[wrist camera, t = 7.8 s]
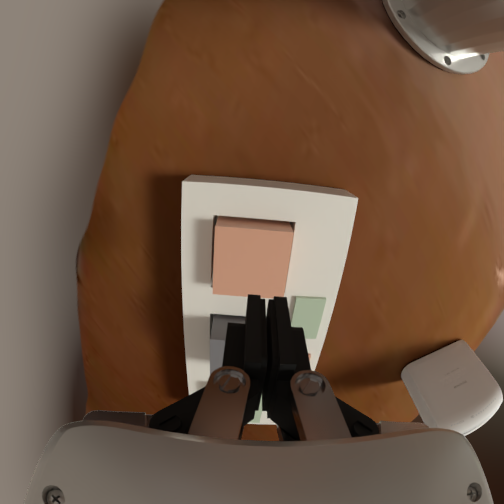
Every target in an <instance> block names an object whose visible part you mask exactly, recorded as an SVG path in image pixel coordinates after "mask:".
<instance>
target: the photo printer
mask: <svg viewBox="0 0 504 504" xmlns="http://www.w3.org/2000/svg"><path fill="white" fill-rule="evenodd" d="M401 378H402V380H403V382H404V384H405V386H406V388H407V390H408V392H409V394H410V396H411V398H412V400H413V402H414V404H415V406H416V408H417V410H418V412H419V414H420V416H421V418H422V420H423V422H424V424H425V425H427V426H428V427H429V428H444V429H450V430H454V431H457V432H459V433H461V434H462V435H464V436H465V435H468V434H470V433H471V432H473V431H475V430H476V429H478V428H479V427H481V426H482V425H483V424H484V423H486V422H487V421H488V420H489V419H490V418H491V417H492V416H493V415H494V413H495V412H496V411H497V409H498V408H499V407H500V405H501V403H502V401H503V396H502V391H501V389H500V387H499V385H498V383H497V382H496V381H495V379H494V378H493V377H492V375H491V374H490V372H489V371H488V370H487V368H486V367H485V366H484V365H483V363H482V362H481V361H480V359H479V358H478V357H477V355H476V354H475V353H474V352H473V350H472V349H471V348H470V347H469V345H468V344H467V343H466V342H465V341H464V340H459V341H457V342H455V343H452V344H450V345H448V346H446V347H444V348H442V349H440V350H437V351H435V352H433V353H431V354H429V355H427V356H425V357H422V358H420V359H418V360H416V361H414V362H412V363H410V364H408V365H407V366H406V367H405V368H404V369H403V371H402V373H401Z"/></svg>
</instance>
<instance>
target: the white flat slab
mask: <svg viewBox="0 0 504 504" xmlns="http://www.w3.org/2000/svg"><path fill="white" fill-rule="evenodd" d="M357 203H358V198H357V197H356V196H354V195H353V194H351V193H350V192H348V191H346V190H344V189H337V188H330V187H322V186H315V185H306V184H298V183H289V182H280V181H270V180H259V179H248V178H235V177H221V176H204V175H190V176H189V177H187V178H186V179H185V180H183V181H182V207H181V269H182V302H183V323H184V340H185V355H186V367H187V379H188V390H189V395H191V394H192V393H194V392H196V391H198V390H200V389H202V388H203V387H205V386H206V384H207V382H208V379H209V376H210V335H211V329H212V324H213V318H214V314H222V315H234V316H246V308H247V298H248V297H243V296H230V295H218V294H213V263H214V238H215V225H216V222H217V219H218V217H219V216H231V217H244V218H256V219H268V220H279V221H289V223H290V225H291V227H292V230H293V232H294V234H293V241H292V247H291V254H290V261H289V267H288V273H287V279H286V286H285V292H284V297H287V302H288V308H289V314H290V321H291V327H302V328H303V330H304V335H305V340H306V345H307V351H308V356H309V361H310V367H311V370H312V371H315V368H316V365H317V362H318V359H319V356H320V352H321V349H322V346H323V343H324V339H325V336H326V333H327V329H328V326H329V322H330V319H331V315H332V312H333V308H334V305H335V301H336V297H337V293H338V289H339V285H340V281H341V277H342V273H343V269H344V265H345V261H346V256H347V252H348V247H349V243H350V238H351V233H352V229H353V224H354V219H355V213H356V208H357ZM261 299H265V306H266V314H267V307H268V301H269V299H272V298H261ZM247 424H275V423H274V422H273V421H272V420H270V418H267V411H262V413H261V418H260V423H252V422H249V423H247Z"/></svg>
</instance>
